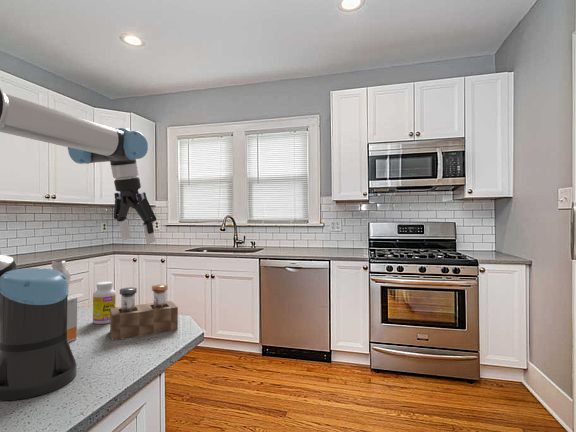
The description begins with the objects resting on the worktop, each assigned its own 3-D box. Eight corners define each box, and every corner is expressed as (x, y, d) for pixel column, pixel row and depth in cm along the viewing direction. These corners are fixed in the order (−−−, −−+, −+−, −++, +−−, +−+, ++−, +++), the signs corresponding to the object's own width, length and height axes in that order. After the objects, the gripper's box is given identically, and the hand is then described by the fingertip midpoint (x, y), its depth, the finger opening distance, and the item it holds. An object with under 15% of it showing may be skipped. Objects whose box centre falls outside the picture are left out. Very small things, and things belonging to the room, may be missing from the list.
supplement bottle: (101, 325, 110) (101, 285, 110) (88, 322, 113) (88, 283, 113) (120, 320, 116) (120, 281, 116) (106, 317, 119) (106, 280, 119)
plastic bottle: (41, 323, 112) (42, 261, 112) (63, 317, 118) (63, 259, 118) (53, 326, 109) (53, 263, 109) (74, 320, 115) (74, 260, 115)
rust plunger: (168, 314, 107) (168, 286, 107) (153, 316, 105) (153, 288, 105) (165, 310, 111) (165, 284, 111) (150, 313, 109) (150, 285, 109)
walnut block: (171, 321, 114) (171, 300, 114) (177, 329, 106) (177, 307, 106) (110, 331, 105) (110, 308, 105) (112, 340, 97) (112, 315, 97)
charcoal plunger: (137, 318, 102) (137, 289, 102) (120, 321, 100) (120, 291, 100) (135, 314, 106) (135, 286, 106) (118, 317, 104) (119, 288, 104)
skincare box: (59, 347, 92) (59, 302, 92) (46, 345, 93) (46, 301, 93) (77, 339, 98) (77, 297, 98) (65, 337, 99) (65, 296, 99)
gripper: (160, 175, 107) (171, 241, 112) (115, 176, 121) (127, 234, 125) (139, 179, 101) (151, 248, 106) (94, 179, 114) (107, 240, 119)
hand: (138, 241), depth 115 cm, fingers open, 13 cm apart
